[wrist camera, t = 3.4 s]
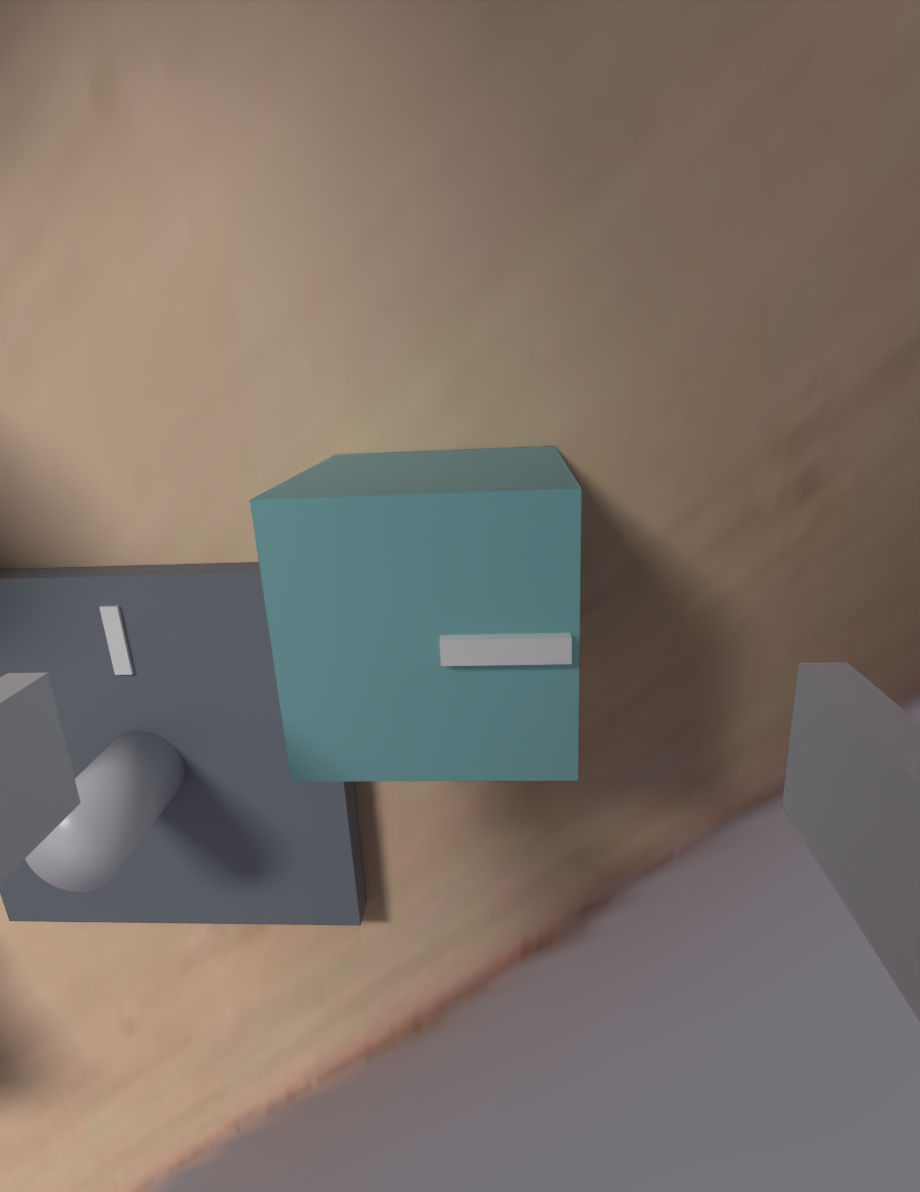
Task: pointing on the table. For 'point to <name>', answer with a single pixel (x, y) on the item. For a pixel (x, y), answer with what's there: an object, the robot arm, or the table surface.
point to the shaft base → (214, 726)
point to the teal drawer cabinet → (426, 615)
